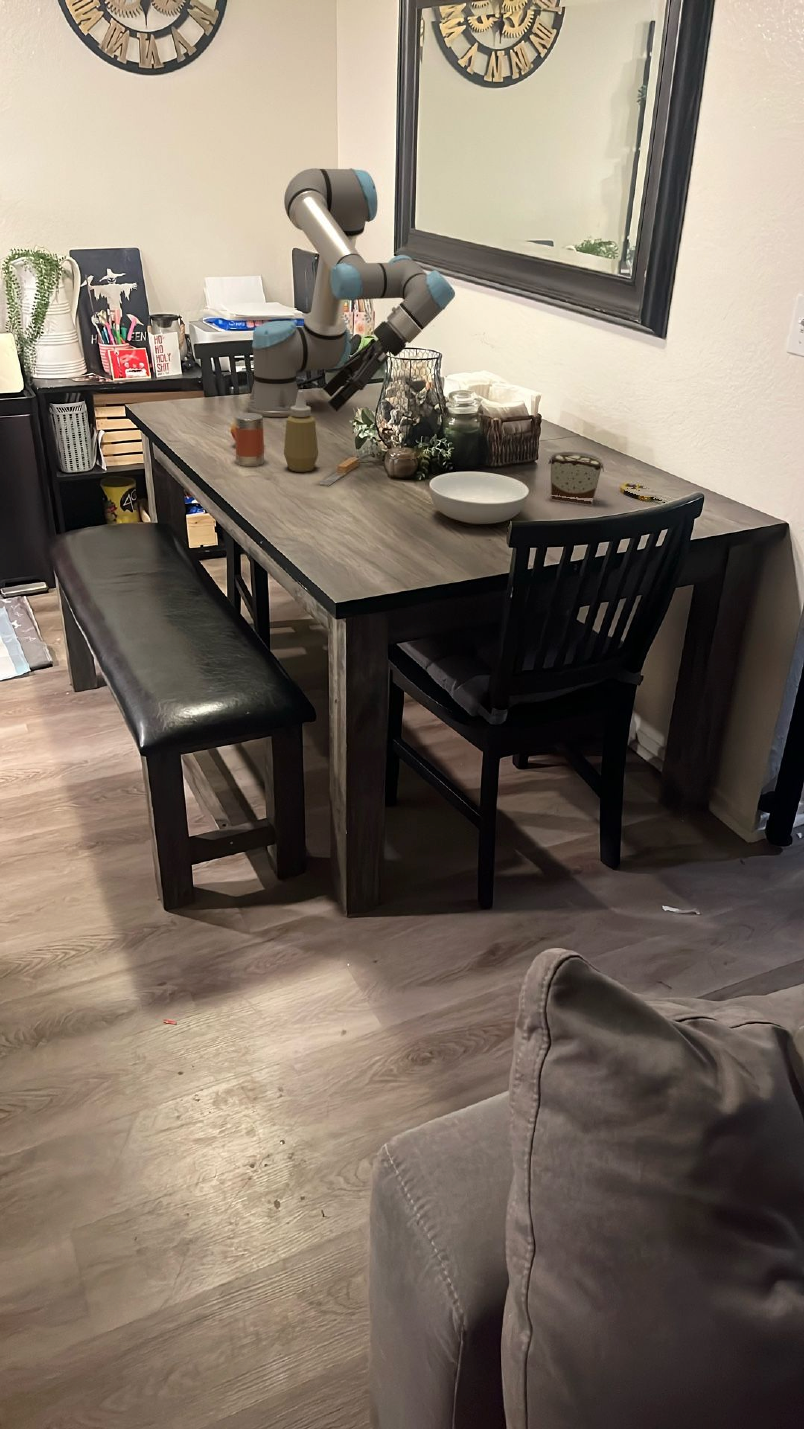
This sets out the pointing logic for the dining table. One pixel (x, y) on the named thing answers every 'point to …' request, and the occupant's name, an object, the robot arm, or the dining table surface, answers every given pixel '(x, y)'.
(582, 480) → the food container
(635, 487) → the overripe banana
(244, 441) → the tin can
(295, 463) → the squeeze bottle
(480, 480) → the serving bowl
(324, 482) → the knife
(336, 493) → the dining table surface
